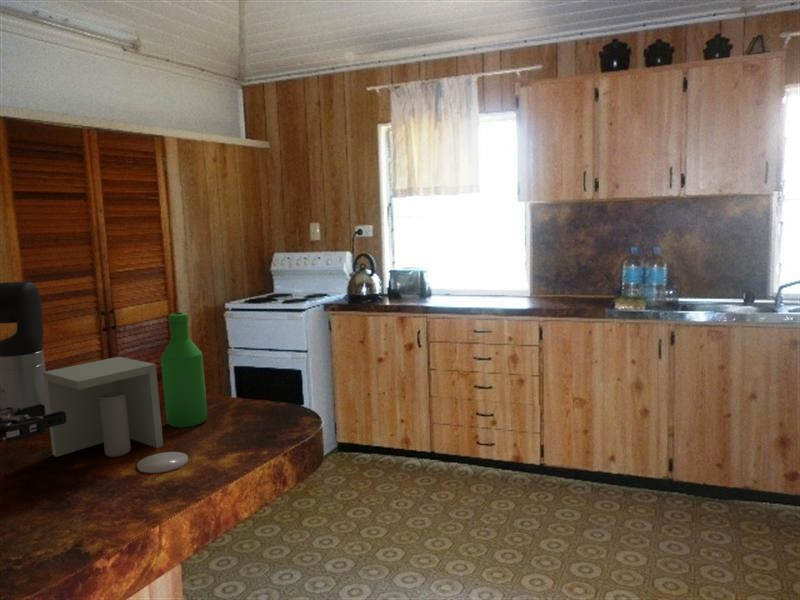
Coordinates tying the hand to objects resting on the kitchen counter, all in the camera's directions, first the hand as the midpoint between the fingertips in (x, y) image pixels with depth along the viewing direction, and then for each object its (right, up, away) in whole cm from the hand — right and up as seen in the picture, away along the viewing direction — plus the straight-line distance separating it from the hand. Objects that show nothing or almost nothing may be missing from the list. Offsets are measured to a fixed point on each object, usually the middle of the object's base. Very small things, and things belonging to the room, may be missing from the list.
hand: (54, 413), depth 119 cm
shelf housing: (+4, -10, +13) cm, 17 cm away
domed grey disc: (+18, -10, +5) cm, 21 cm away
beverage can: (+7, -10, +12) cm, 17 cm away
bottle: (+15, -8, +30) cm, 34 cm away
